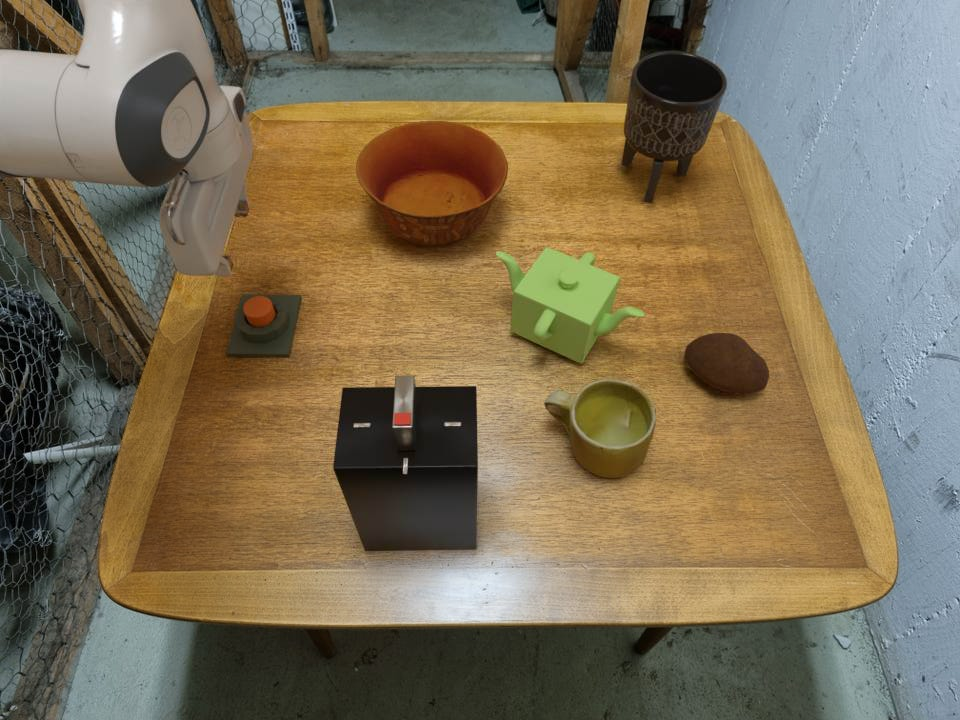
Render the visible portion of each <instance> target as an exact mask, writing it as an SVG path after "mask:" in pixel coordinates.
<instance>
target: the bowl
mask: <svg viewBox="0 0 960 720" xmlns="http://www.w3.org/2000/svg"><path fill="white" fill-rule="evenodd" d="M508 172H509V162H508V159H507V157H506V155H505V152H504V150H503V149H502V147H501V146H500V145H499V144H498V143H497V142H496V141H495V140H494V139H493V138H491V137H490V136H489V135H488V134H486V132H485V133H484V132H483V131H482V130H479V129H476V128H474V127H472V126H469V125H466V124H462V123H458V122H453V121H446V120H422V121H421V120H420V121H414V122H410V123H406V124H401V125H399V126H394V127H392V128H390V129H388V130H386V131H384V132H382V133H380V134H379V135H377V136H374V138H372V139H371V140H370V141H369V142H368V143H366V145H365V146H364V147H363V148H362V149H361V152H360V153H359V155H358V156H357V159H356V163H355V174H356V177H357V180H358V182H359V185H360V186H361V188H362V189H363V190H364V193H366V195H367V196H368V197H369V198H370V199H371V200H372V201H373V202H374V203H375V206H376V208H377V210H378V213H379V216H380V217H381V219H382V221H383V223H384V224H385V225H386V226H387V228H388V229H389V230H390V231H391V232H392V233H394V234H395V235H396V236H398V237H399V238H401V239H404V240H405V241H408V242H411V243H414V244H419V245H425V246H440V245H448V244H454V243H457V242H459V241H461V240H463V239H465V238H467V237H469V236H470V235H472V234H474V233H475V232H476V231H478V229H479V228H480V227H482V225H483V224H484V222H485V220H486V218H487V217H488V214H489V211H490V208H491V204H492V202H493V200H494V199H495V198H496V197H497V196H498V195H499V194H500V193H501V191H502V190H503V188H504V186H505V184H506V181H507V178H508Z"/></svg>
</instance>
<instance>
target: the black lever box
mask: <svg viewBox="0 0 960 720" xmlns="http://www.w3.org/2000/svg"><path fill="white" fill-rule="evenodd" d="M477 389H478V388H477V386H476V385H459V386H457V385H455V386H452V385H451V386H449V385H448V386H447V385H446V386H444V385H443V386H441V385H440V386H416V392H417V399H418V405H417V431H416V450H412V451H397V448H396V443H395V438H394V433H393V428H392V424H393V407H394V391H395V386H360V387H359V386H358V387H357V386H355V387H354V386H353V387H351V386H350V387H349V386H348V387H347V386H345V387H342V388H341V397H340V404H339V405H340V407H339V415H338V423H337V430H336V431H337V432H336V439H335V449H334V457H333V464H332V465H333V466H332V469H333V472H334V474H335V477H336V479H337V480H336V481H337V482H338V484H339V487H340V490H341V493H342V496H343V498H344V500H345V501H344V502H345V503H346V506H347V508H348V511H349V513H350V517H351V518H352V521H353V524H354V526H355V529H356V532H357V534H358V537H359V540H360V542H361V545H362V548H363V550H364V552H400V551H401V552H405V551H406V552H407V551H411V552H412V551H415V552H416V551H471V550H472V551H476V550H477V549H478V495H479V493H478V491H479V490H478V489H479V488H478V487H479V486H478V485H479V483H478V481H479V454H478V451H479V449H478V444H479V443H478V396H477Z"/></svg>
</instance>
